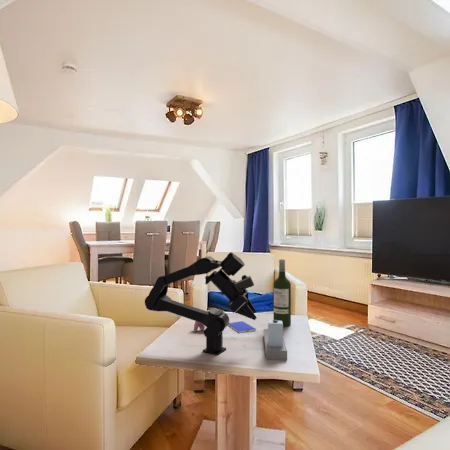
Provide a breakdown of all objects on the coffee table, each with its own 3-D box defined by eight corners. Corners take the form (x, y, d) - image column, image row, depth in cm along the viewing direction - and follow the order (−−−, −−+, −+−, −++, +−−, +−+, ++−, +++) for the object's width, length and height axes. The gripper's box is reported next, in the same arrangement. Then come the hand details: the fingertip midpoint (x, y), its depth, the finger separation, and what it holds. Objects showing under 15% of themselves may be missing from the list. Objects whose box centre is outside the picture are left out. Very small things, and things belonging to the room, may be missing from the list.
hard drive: (227, 322, 154) (239, 330, 143) (243, 320, 157) (256, 328, 146) (227, 326, 154) (239, 334, 143) (243, 324, 157) (256, 331, 146)
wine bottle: (273, 326, 152) (273, 260, 152) (273, 321, 160) (273, 258, 160) (291, 327, 151) (291, 260, 151) (290, 322, 158) (290, 258, 159)
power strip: (287, 359, 113) (287, 349, 113) (266, 359, 114) (266, 348, 114) (279, 331, 144) (279, 323, 144) (263, 331, 145) (263, 322, 145)
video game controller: (217, 334, 146) (217, 317, 149) (215, 332, 142) (216, 315, 145) (194, 333, 147) (195, 317, 150) (192, 331, 143) (194, 315, 146)
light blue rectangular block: (283, 352, 118) (282, 322, 118) (268, 351, 118) (268, 321, 118) (281, 348, 122) (281, 318, 122) (268, 347, 122) (268, 318, 122)
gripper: (239, 272, 112) (273, 306, 111) (241, 265, 130) (270, 294, 129) (216, 295, 112) (249, 329, 111) (221, 285, 131) (249, 314, 130)
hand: (255, 315), depth 120 cm, fingers open, 9 cm apart
